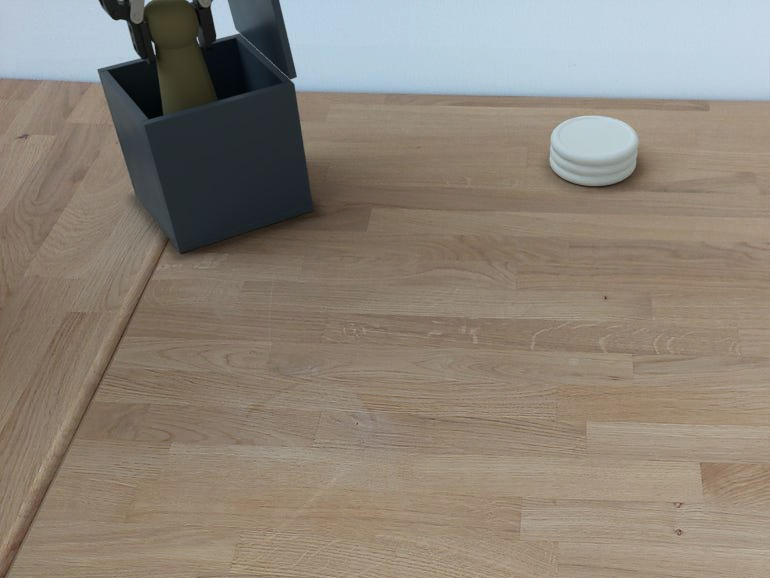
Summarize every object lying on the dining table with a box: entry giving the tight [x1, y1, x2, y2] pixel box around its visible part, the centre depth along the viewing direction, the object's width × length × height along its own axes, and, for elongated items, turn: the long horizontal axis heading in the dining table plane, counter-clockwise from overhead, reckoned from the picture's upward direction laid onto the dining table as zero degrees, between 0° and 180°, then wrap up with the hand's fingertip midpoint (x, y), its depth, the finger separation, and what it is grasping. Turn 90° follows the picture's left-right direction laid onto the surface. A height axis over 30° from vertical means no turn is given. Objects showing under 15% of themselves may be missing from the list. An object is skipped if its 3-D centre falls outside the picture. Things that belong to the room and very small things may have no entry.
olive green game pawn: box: [143, 0, 218, 115], centre depth 95 cm, size 6×6×11 cm
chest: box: [96, 32, 314, 254], centre depth 102 cm, size 16×14×13 cm
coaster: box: [549, 115, 640, 187], centre depth 110 cm, size 10×10×4 cm
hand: (178, 53), depth 94 cm, fingers closed on olive green game pawn, 5 cm apart
